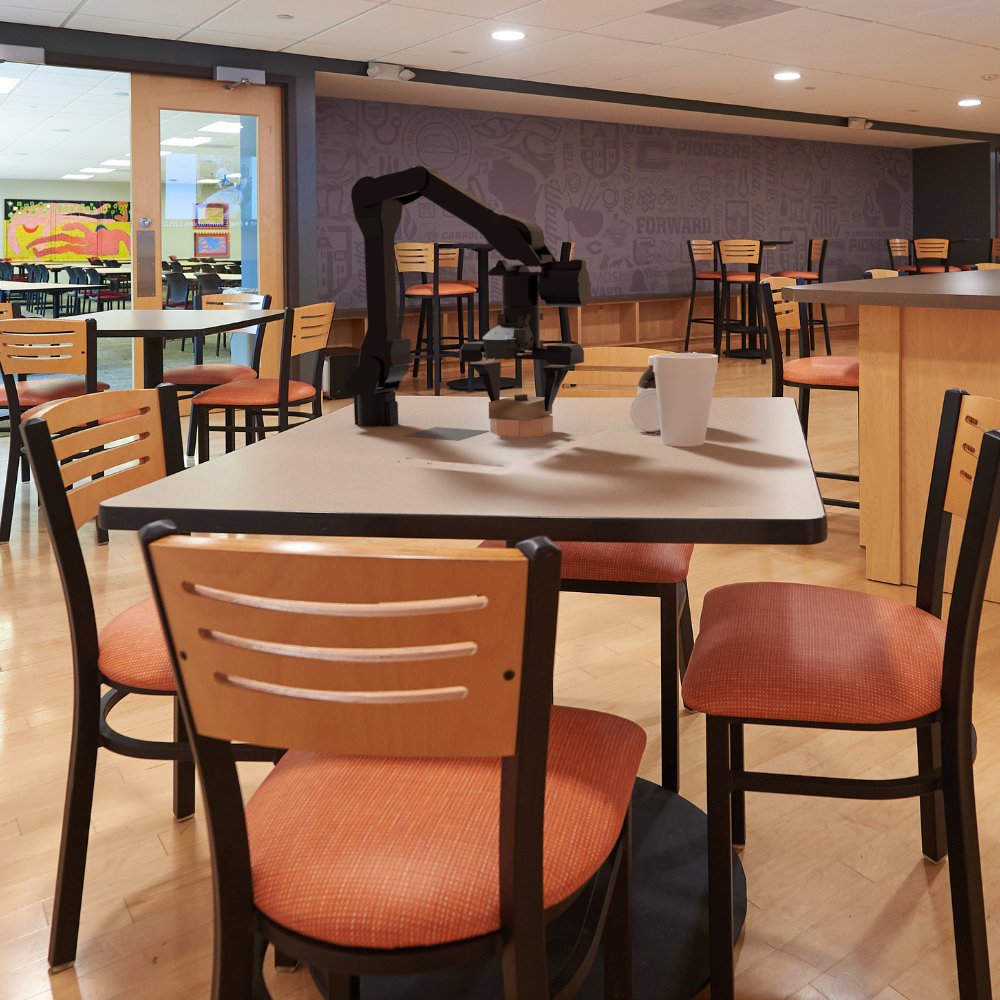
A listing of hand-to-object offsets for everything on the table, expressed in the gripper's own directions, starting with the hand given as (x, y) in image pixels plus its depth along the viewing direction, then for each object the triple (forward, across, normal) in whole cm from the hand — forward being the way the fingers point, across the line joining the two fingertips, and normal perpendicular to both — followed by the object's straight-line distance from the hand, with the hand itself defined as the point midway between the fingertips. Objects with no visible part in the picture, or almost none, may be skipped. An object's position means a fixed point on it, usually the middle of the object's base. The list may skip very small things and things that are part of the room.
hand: (521, 409), depth 152 cm
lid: (+1, 0, 0) cm, 1 cm away
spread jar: (+5, +17, +18) cm, 25 cm away
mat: (+4, -10, -6) cm, 12 cm away
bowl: (+4, 0, 0) cm, 4 cm away
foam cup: (+5, +24, +6) cm, 25 cm away
